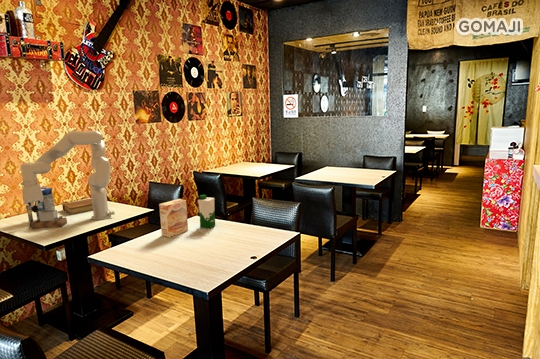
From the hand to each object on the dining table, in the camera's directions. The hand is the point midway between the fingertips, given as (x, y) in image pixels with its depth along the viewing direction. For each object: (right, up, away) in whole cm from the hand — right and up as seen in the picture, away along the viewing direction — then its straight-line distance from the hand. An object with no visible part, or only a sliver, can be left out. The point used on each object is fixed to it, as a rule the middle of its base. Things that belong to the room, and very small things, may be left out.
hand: (35, 211), depth 236 cm
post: (-9, -11, +11) cm, 18 cm away
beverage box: (-8, -8, +27) cm, 29 cm away
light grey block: (+2, -6, +11) cm, 13 cm away
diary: (+5, -3, +51) cm, 51 cm away
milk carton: (+107, -10, +3) cm, 107 cm away
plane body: (+2, -10, +12) cm, 16 cm away
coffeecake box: (+89, -12, -7) cm, 90 cm away
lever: (-6, -1, +3) cm, 7 cm away
